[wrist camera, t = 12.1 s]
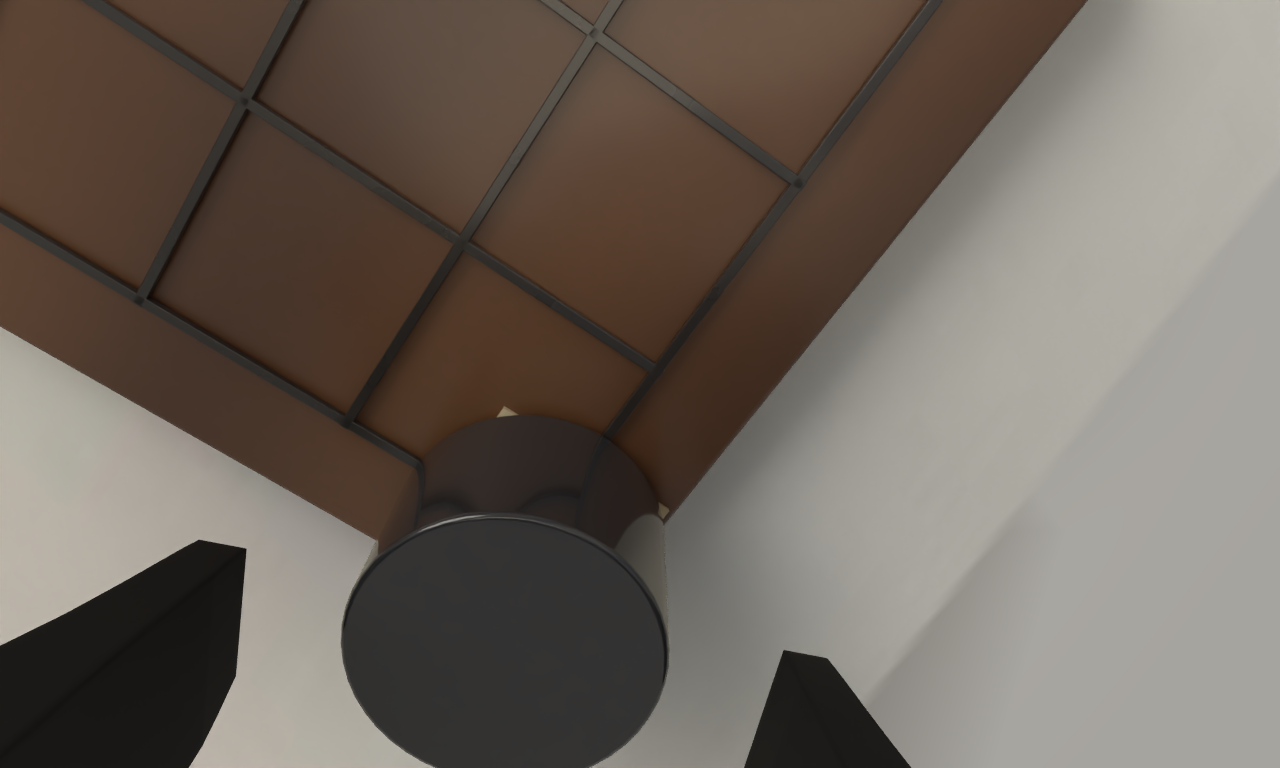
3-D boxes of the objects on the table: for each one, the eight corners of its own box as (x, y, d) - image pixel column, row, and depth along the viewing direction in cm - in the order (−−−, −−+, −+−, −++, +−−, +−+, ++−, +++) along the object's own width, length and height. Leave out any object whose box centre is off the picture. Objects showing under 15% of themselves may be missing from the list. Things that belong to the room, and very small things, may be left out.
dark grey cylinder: (691, 443, 15) (704, 551, 12) (631, 666, 17) (630, 809, 14) (415, 387, 15) (358, 482, 12) (381, 620, 16) (322, 757, 13)
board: (1108, -66, 14) (1155, -73, 12) (570, 610, 18) (564, 657, 17) (216, -848, 11) (159, -966, 9) (-175, 178, 15) (-253, 194, 14)
